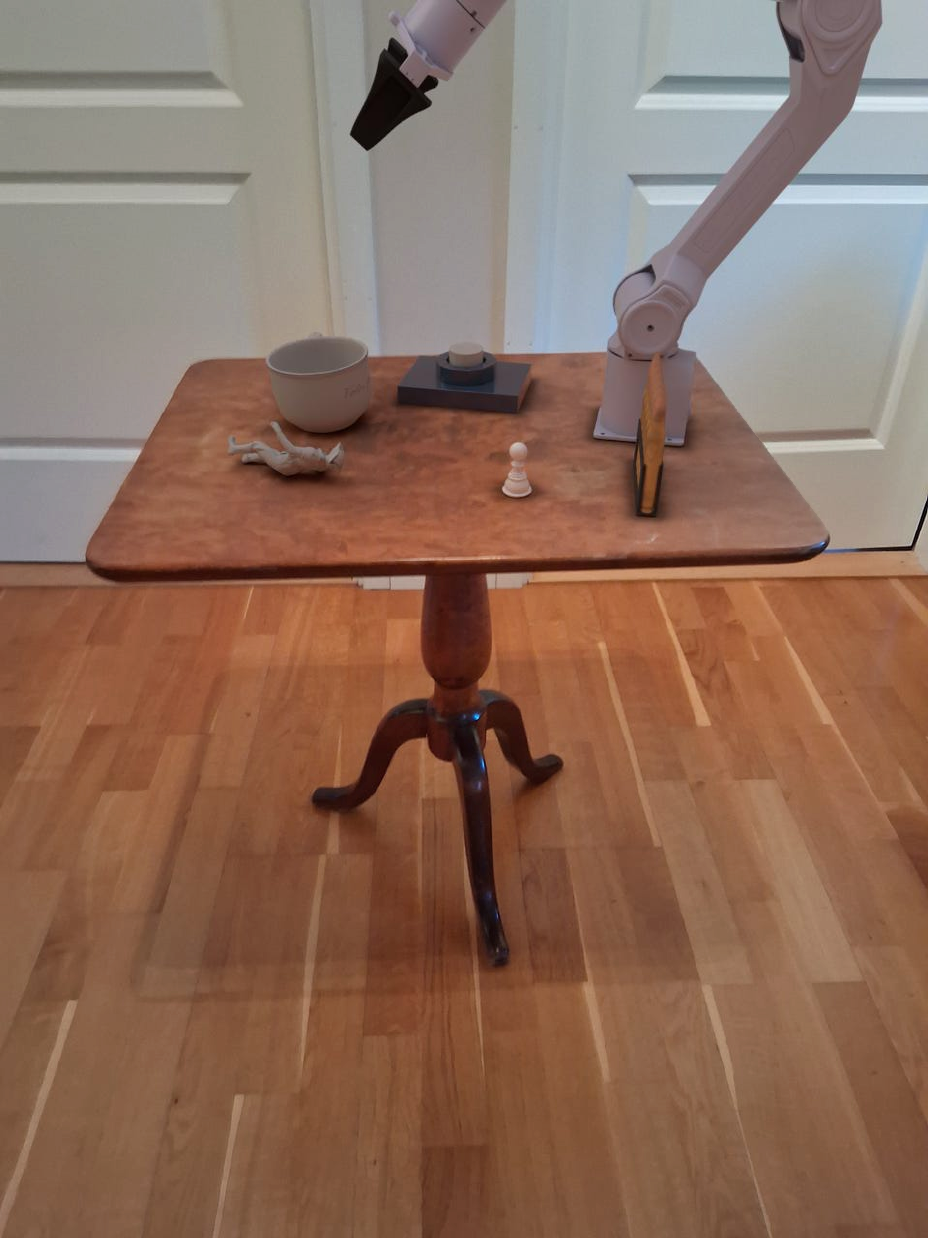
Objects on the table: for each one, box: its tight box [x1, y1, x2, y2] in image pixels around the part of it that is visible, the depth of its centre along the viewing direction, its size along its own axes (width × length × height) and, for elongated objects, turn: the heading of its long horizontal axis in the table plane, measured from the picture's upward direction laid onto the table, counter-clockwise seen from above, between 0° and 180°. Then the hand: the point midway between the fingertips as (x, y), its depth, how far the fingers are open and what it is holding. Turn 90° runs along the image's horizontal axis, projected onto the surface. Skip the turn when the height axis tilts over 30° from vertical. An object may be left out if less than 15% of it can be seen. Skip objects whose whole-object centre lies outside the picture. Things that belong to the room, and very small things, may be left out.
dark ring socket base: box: [396, 350, 533, 415], centre depth 105 cm, size 14×10×4 cm
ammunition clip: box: [632, 352, 667, 517], centre depth 83 cm, size 11×2×12 cm, turn 173°
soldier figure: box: [226, 421, 346, 476], centre depth 88 cm, size 8×5×12 cm
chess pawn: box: [501, 441, 533, 498], centre depth 85 cm, size 3×3×5 cm
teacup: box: [265, 331, 372, 434], centre depth 98 cm, size 14×11×8 cm
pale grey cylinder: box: [448, 341, 485, 367], centre depth 104 cm, size 4×4×2 cm
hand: (363, 133), depth 83 cm, fingers open, 7 cm apart
